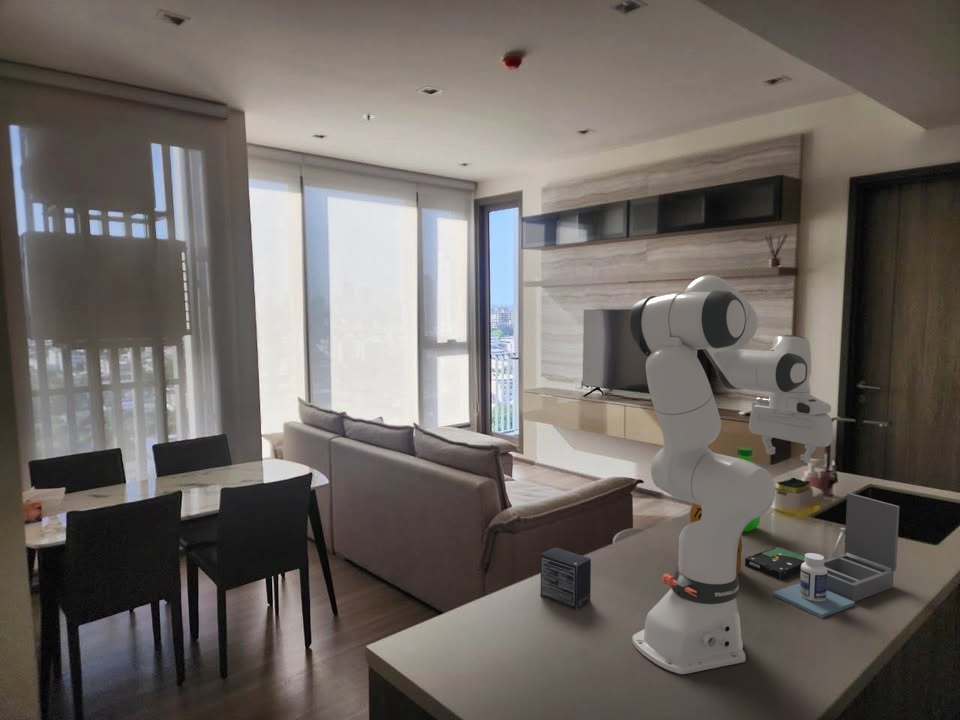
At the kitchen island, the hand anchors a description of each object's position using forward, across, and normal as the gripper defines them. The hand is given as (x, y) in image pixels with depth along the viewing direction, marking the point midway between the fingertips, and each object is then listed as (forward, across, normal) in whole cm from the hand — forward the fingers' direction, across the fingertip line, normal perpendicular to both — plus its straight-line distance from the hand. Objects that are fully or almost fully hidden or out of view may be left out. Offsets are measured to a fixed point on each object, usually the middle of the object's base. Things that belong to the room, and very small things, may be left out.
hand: (787, 457), depth 148 cm
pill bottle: (+30, +10, -3) cm, 32 cm away
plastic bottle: (+31, -29, +21) cm, 48 cm away
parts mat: (+31, +10, -3) cm, 33 cm away
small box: (+31, -18, -53) cm, 64 cm away
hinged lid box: (+31, +9, +12) cm, 34 cm away
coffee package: (+31, -13, -9) cm, 35 cm away
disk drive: (+32, -6, +7) cm, 33 cm away
